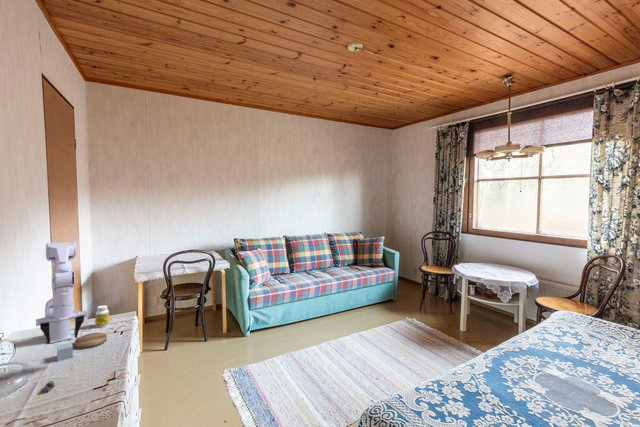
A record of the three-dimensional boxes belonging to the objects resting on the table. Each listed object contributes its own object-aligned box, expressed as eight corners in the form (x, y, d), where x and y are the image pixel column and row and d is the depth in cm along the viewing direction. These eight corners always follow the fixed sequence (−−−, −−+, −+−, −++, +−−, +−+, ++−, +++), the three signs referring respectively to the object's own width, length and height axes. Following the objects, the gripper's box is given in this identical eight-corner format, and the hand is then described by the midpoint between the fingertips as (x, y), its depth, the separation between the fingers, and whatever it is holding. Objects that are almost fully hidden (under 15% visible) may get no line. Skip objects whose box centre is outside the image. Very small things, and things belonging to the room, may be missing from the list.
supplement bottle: (109, 322, 149) (109, 304, 149) (108, 326, 144) (108, 307, 144) (95, 324, 146) (96, 305, 146) (94, 328, 142) (95, 309, 141)
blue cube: (56, 356, 116) (57, 345, 116) (71, 353, 119) (71, 342, 119) (57, 361, 113) (57, 350, 113) (72, 357, 116) (72, 346, 116)
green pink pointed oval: (44, 388, 98) (44, 381, 98) (54, 387, 98) (54, 380, 98) (35, 396, 94) (35, 389, 94) (45, 395, 94) (45, 388, 94)
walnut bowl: (73, 341, 128) (73, 337, 128) (104, 334, 136) (104, 330, 136) (75, 351, 120) (75, 347, 120) (108, 343, 128) (108, 339, 128)
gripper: (35, 311, 102) (35, 349, 102) (88, 303, 111) (88, 337, 112) (36, 305, 107) (36, 341, 107) (86, 298, 117) (86, 331, 117)
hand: (62, 339), depth 110 cm, fingers open, 7 cm apart
